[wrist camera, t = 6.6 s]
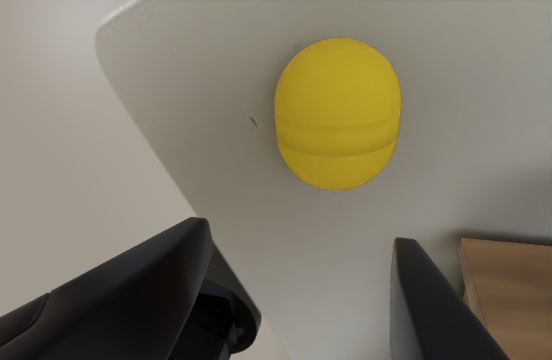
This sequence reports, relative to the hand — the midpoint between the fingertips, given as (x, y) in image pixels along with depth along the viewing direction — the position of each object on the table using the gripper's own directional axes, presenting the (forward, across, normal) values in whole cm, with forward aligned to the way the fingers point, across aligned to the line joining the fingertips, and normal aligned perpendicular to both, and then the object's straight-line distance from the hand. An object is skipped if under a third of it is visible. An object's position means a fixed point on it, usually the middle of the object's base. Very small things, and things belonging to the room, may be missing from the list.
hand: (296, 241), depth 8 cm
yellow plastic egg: (+11, 0, 0) cm, 11 cm away
